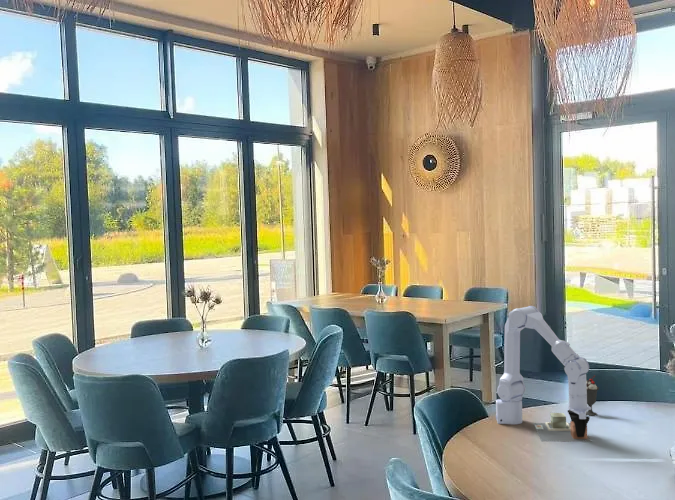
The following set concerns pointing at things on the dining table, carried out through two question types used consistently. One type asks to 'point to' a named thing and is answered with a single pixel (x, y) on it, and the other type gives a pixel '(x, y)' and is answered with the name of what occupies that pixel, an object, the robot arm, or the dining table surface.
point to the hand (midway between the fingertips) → (578, 434)
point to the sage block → (558, 420)
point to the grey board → (556, 433)
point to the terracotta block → (573, 431)
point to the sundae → (591, 395)
